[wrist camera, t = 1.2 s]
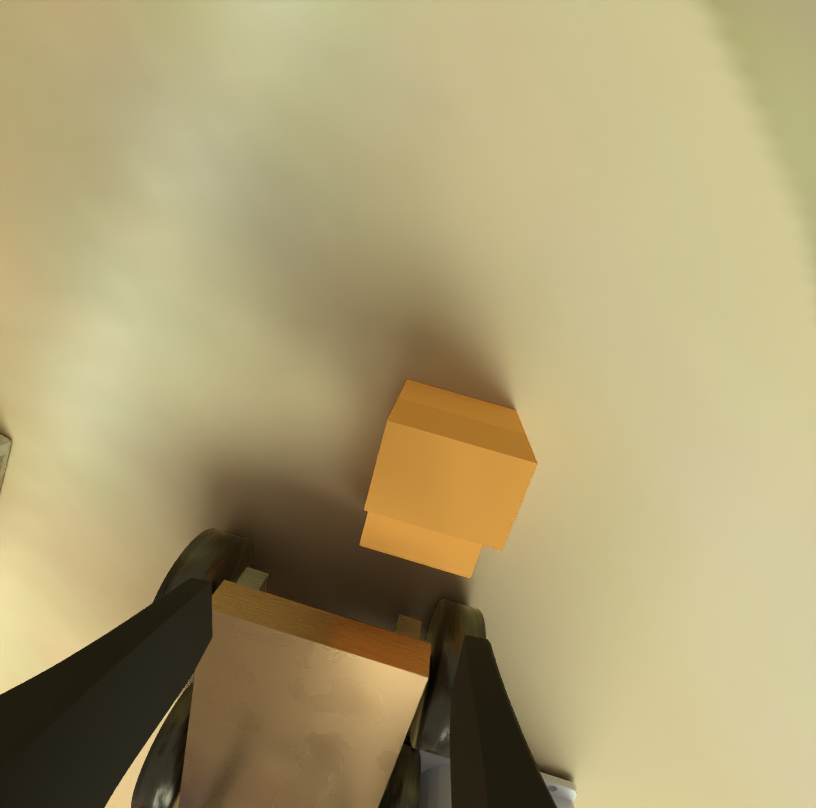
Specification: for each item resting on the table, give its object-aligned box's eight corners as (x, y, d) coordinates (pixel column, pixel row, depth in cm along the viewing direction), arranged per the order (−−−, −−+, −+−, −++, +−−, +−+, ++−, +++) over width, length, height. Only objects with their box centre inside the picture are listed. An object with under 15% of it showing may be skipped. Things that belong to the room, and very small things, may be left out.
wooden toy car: (227, 505, 22) (-59, 792, 10) (482, 583, 21) (509, 983, 9) (198, 721, 27) (-7, 1073, 15) (399, 786, 27) (350, 1201, 15)
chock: (515, 408, 18) (537, 463, 13) (468, 536, 21) (471, 625, 15) (407, 378, 19) (386, 420, 13) (373, 508, 21) (343, 586, 16)
